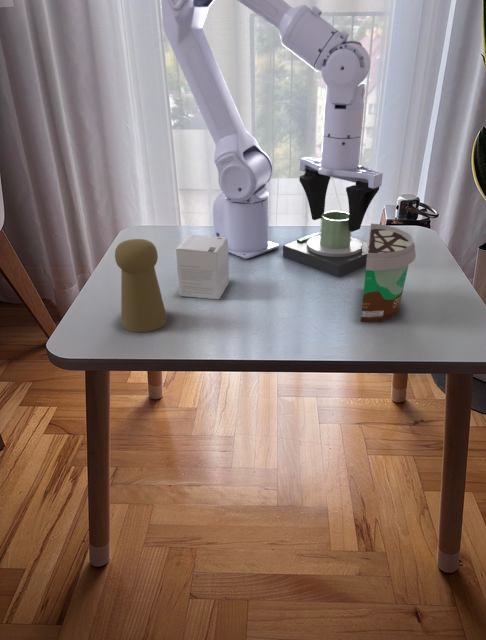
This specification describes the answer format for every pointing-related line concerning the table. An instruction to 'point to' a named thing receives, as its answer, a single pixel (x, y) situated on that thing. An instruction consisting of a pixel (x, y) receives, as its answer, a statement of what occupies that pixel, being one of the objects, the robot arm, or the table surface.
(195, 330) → the table surface
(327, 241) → the green cup
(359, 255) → the kitchen scale
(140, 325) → the olive yellow pawn
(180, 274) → the product carton
